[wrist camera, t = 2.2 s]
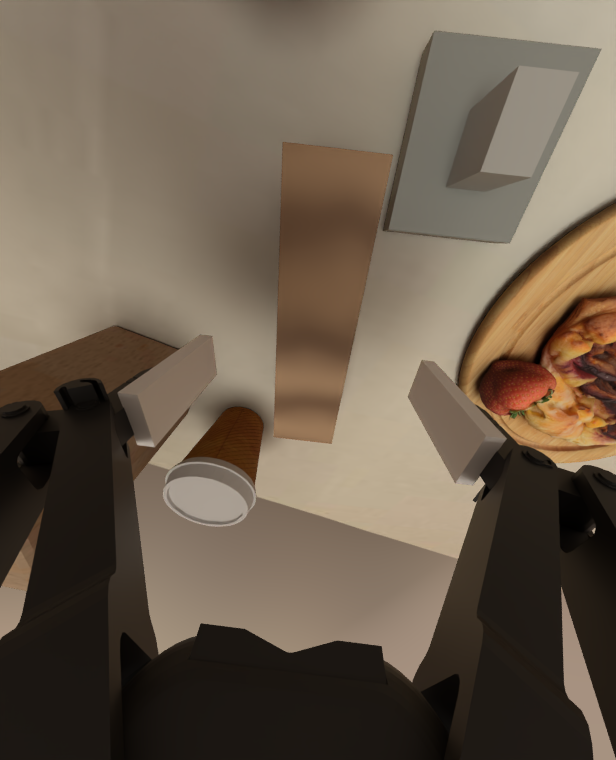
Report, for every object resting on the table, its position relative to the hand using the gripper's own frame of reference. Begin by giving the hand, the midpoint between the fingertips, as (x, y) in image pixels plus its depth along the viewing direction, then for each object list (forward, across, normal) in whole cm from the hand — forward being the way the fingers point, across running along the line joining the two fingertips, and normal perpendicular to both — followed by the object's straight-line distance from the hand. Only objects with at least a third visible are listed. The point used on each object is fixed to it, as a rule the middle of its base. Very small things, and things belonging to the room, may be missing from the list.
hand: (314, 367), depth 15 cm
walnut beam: (+12, 0, 0) cm, 12 cm away
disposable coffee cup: (+12, -9, -17) cm, 23 cm away
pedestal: (+12, +10, +13) cm, 20 cm away
